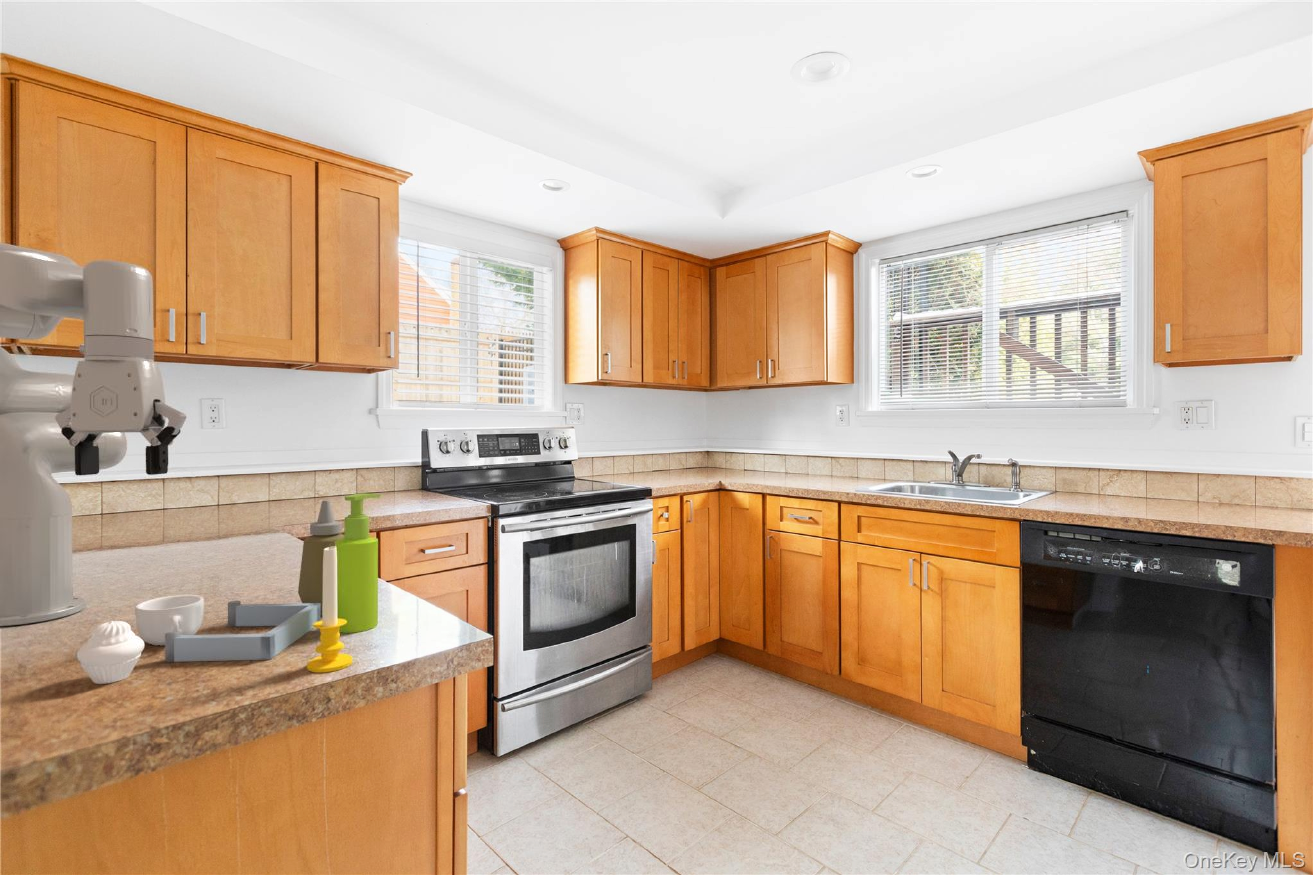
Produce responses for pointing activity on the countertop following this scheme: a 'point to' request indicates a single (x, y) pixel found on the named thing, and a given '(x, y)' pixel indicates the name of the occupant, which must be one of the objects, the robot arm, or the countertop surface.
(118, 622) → the muffin
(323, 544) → the squeeze bottle
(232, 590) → the countertop surface
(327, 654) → the candle
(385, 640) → the countertop surface
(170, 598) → the teacup
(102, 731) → the countertop surface
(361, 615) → the soap dispenser
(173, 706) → the countertop surface
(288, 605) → the bay
